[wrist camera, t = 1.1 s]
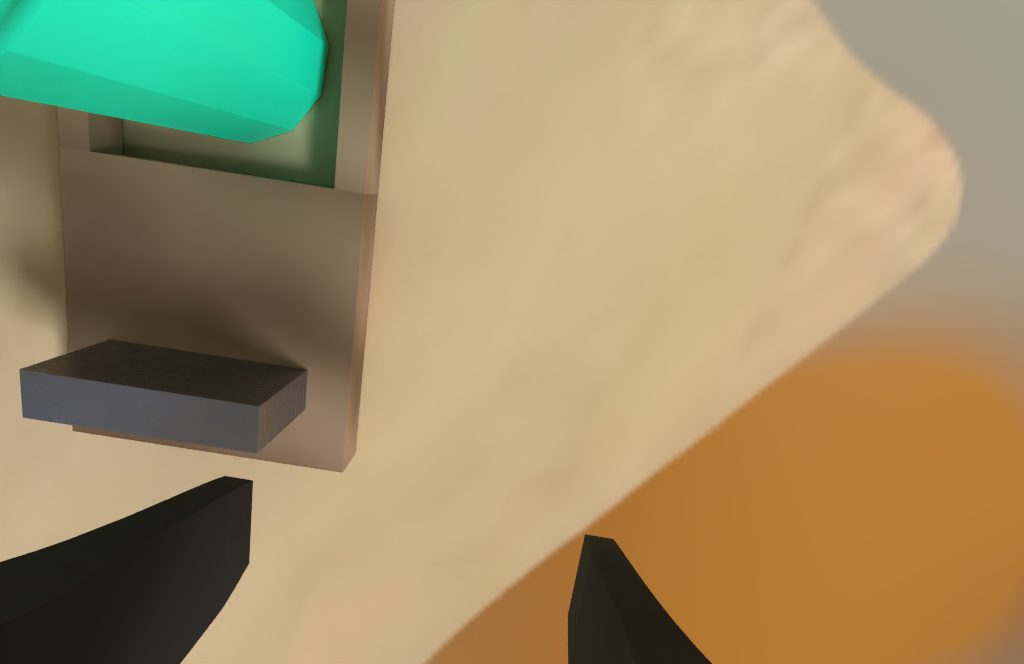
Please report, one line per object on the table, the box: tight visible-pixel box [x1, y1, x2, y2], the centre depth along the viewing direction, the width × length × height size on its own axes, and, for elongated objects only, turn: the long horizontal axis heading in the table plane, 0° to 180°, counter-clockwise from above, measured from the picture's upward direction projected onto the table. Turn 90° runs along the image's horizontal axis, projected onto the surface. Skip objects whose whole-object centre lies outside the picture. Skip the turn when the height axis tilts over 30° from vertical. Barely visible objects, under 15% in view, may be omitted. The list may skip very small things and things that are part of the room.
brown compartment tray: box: [19, 0, 395, 472], centre depth 17 cm, size 20×10×5 cm, turn 172°
